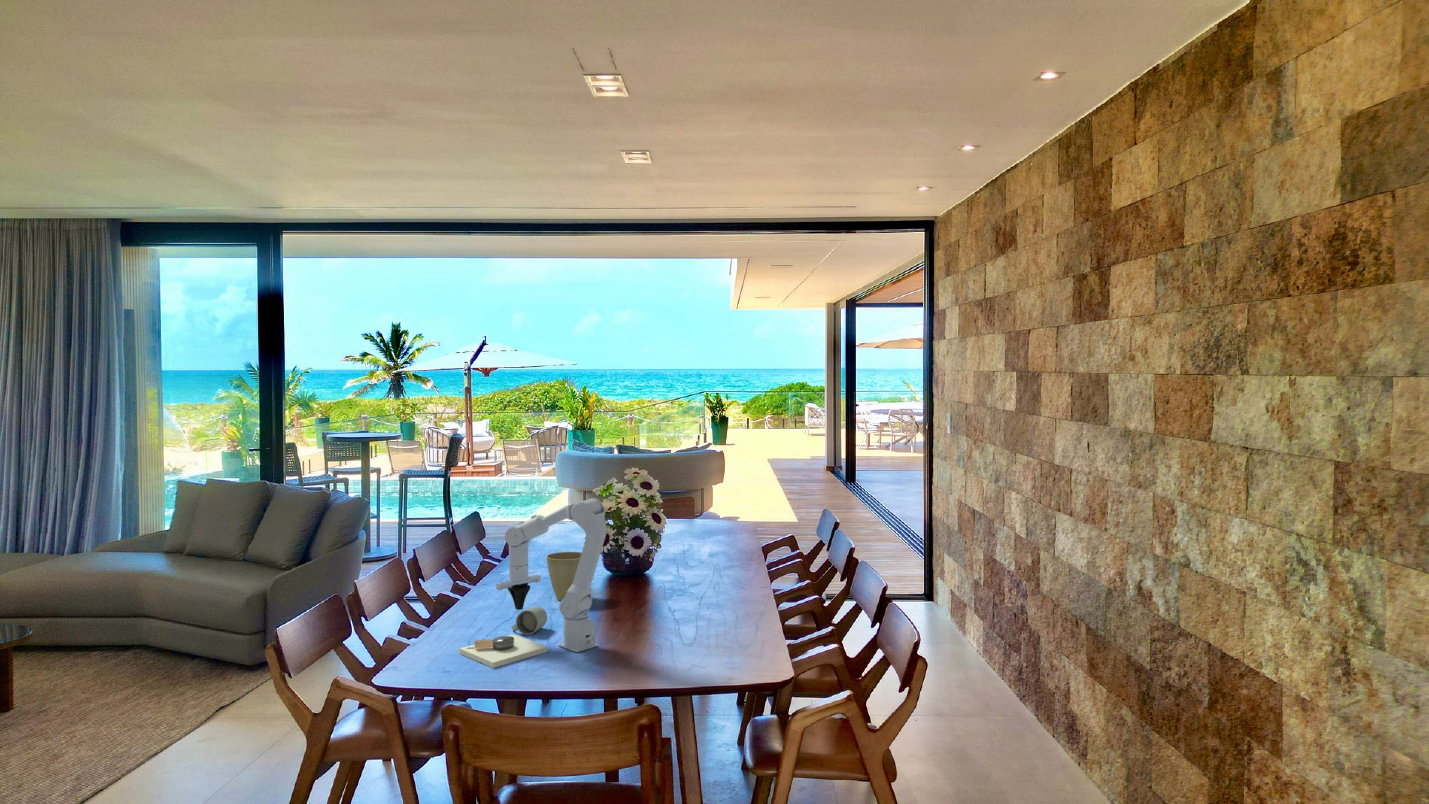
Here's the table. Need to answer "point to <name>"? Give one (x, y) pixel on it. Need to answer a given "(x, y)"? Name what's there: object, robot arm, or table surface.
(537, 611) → the ceramic mug
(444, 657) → the table surface
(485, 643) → the twist handle
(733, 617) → the table surface
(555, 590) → the plant pot
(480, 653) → the base
